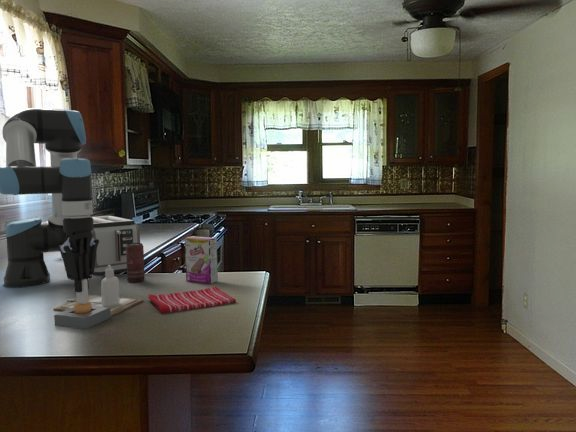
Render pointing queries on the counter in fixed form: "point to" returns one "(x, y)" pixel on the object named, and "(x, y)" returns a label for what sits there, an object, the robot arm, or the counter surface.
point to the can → (135, 262)
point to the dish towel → (190, 300)
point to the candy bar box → (201, 259)
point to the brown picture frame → (97, 301)
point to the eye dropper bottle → (110, 288)
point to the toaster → (113, 242)
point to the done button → (82, 308)
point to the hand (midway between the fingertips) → (82, 302)
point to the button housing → (82, 317)
